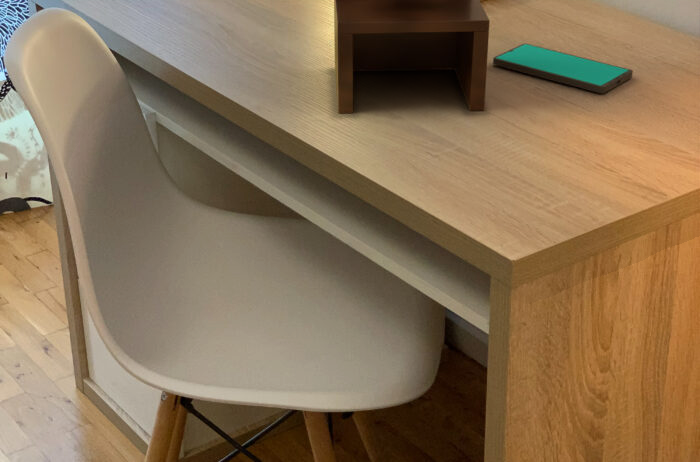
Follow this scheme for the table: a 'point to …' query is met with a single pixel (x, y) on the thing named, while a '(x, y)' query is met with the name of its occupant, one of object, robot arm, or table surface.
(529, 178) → the table surface
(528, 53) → the smartphone
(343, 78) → the shelf
